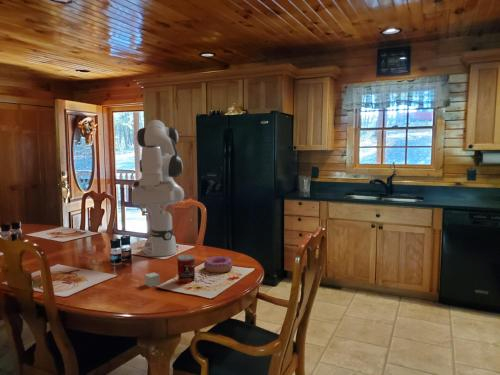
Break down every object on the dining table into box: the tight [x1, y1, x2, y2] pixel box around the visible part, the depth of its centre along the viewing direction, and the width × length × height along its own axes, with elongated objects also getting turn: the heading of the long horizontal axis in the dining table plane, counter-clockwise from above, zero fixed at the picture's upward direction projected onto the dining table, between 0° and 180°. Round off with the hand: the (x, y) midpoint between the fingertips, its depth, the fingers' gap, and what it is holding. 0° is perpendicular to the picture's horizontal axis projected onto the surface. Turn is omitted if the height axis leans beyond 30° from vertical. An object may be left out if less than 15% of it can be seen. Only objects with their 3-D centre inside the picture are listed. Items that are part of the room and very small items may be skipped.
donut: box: [203, 255, 234, 274], centre depth 187 cm, size 14×14×5 cm
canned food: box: [177, 253, 196, 284], centre depth 172 cm, size 8×8×11 cm
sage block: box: [144, 272, 161, 288], centre depth 167 cm, size 5×5×5 cm
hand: (153, 214), depth 158 cm, fingers open, 8 cm apart
